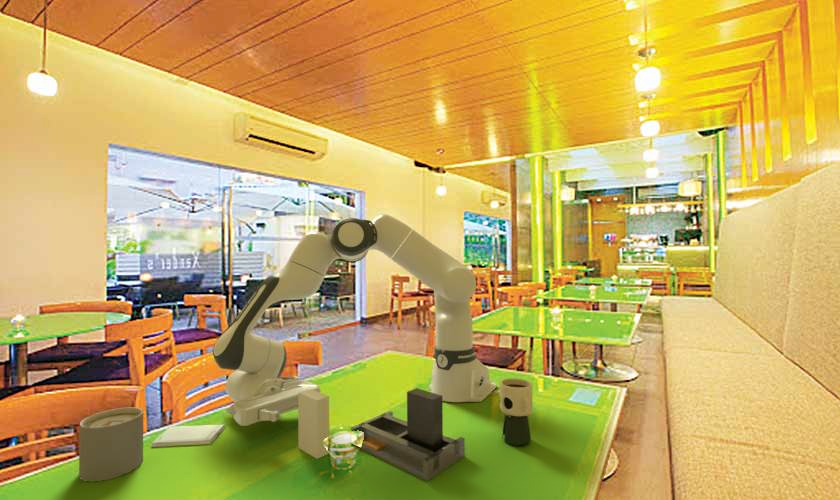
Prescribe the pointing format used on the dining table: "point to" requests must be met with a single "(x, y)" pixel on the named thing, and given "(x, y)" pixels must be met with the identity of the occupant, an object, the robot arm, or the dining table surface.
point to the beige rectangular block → (313, 422)
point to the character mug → (516, 409)
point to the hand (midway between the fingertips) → (296, 410)
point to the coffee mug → (110, 443)
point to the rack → (413, 437)
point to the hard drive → (188, 435)
